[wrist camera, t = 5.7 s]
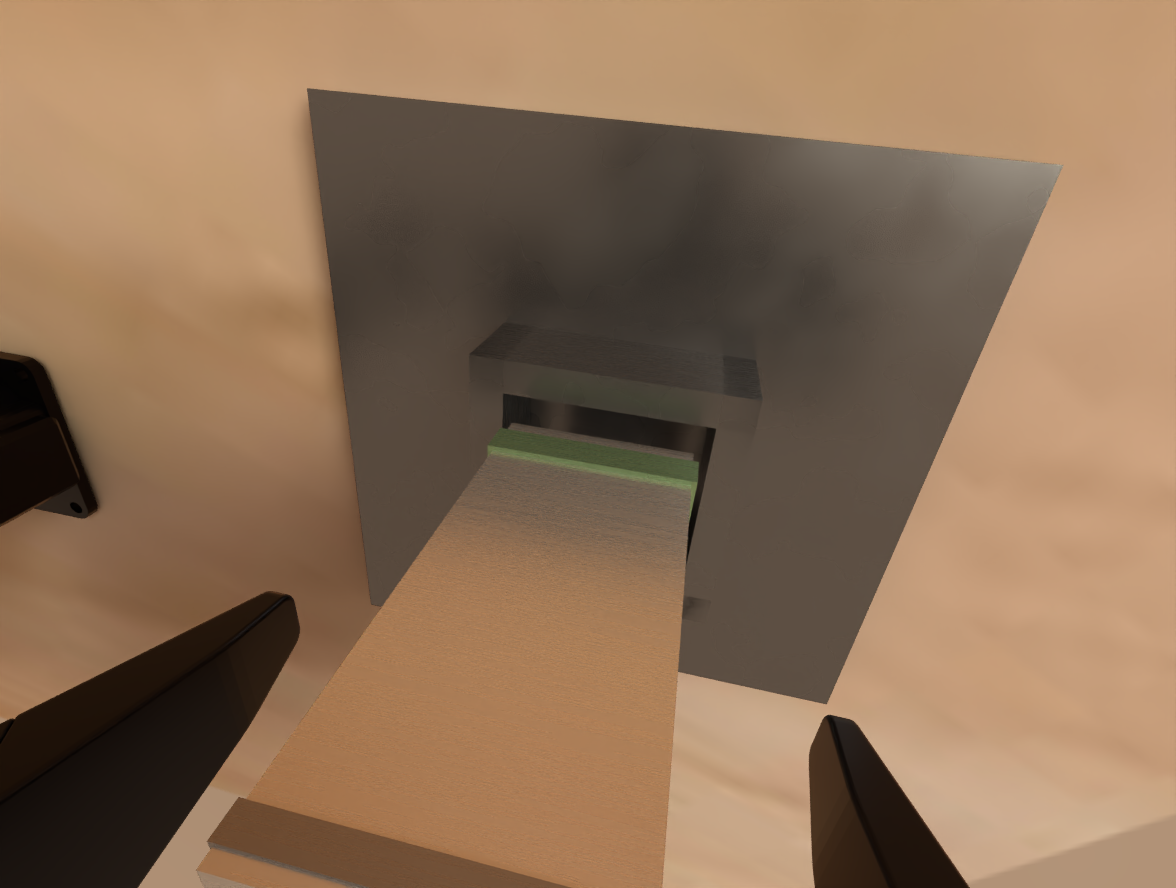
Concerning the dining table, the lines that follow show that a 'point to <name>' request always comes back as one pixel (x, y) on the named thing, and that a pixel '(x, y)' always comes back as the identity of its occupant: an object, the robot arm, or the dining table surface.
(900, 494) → the stand base
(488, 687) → the post
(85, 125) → the dining table surface
